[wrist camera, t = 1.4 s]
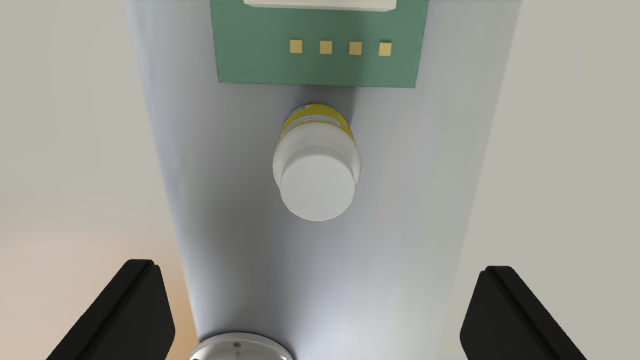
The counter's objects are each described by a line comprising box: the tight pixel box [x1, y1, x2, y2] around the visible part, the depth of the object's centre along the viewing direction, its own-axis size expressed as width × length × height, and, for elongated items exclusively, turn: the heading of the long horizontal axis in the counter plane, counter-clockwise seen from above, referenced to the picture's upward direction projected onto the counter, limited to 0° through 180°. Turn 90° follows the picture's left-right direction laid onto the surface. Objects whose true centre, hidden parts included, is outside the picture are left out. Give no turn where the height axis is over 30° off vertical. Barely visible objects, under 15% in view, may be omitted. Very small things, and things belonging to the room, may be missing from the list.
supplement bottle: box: [272, 102, 361, 221], centre depth 21 cm, size 5×5×10 cm
